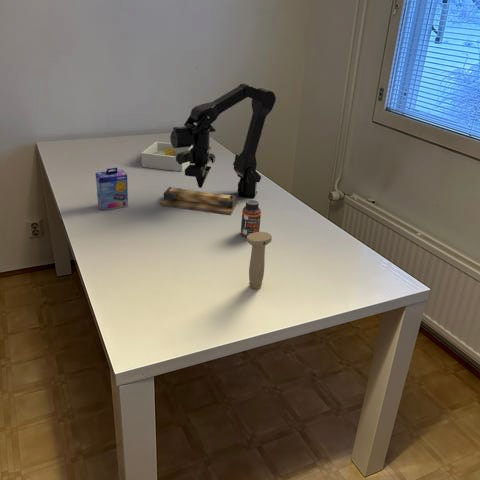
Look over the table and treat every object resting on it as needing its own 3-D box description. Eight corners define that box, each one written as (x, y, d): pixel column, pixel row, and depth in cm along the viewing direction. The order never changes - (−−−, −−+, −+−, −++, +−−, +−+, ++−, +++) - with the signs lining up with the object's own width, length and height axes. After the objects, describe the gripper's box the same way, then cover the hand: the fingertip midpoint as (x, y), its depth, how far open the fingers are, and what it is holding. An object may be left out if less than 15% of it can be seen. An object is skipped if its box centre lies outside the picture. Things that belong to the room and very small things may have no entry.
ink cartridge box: (101, 211, 168) (98, 171, 161) (97, 205, 172) (93, 165, 165) (129, 206, 172) (127, 167, 165) (124, 201, 176) (122, 162, 170)
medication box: (153, 164, 214) (153, 155, 212) (149, 162, 215) (149, 153, 213) (174, 158, 222) (174, 149, 220) (170, 156, 223) (170, 147, 221)
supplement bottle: (246, 239, 155) (248, 206, 149) (237, 232, 159) (239, 199, 154) (262, 236, 157) (265, 204, 152) (253, 229, 162) (255, 197, 157)
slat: (230, 203, 177) (230, 195, 176) (228, 206, 175) (228, 198, 173) (171, 195, 181) (171, 187, 179) (169, 198, 178) (169, 190, 177)
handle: (240, 284, 131) (243, 234, 124) (260, 279, 134) (264, 230, 127) (249, 294, 128) (253, 243, 121) (270, 288, 131) (275, 238, 124)
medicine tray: (194, 158, 223) (194, 146, 220) (182, 171, 207) (182, 157, 204) (156, 154, 225) (156, 141, 222) (141, 166, 209) (141, 153, 207)
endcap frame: (238, 201, 181) (238, 192, 180) (231, 214, 171) (231, 205, 169) (170, 192, 185) (170, 184, 184) (160, 205, 175) (159, 195, 173)
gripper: (186, 135, 177) (186, 176, 185) (169, 149, 161) (170, 194, 168) (216, 138, 176) (215, 179, 183) (202, 153, 159) (201, 198, 167)
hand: (200, 187), depth 175 cm, fingers closed
